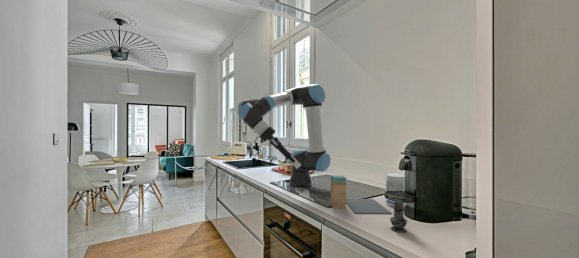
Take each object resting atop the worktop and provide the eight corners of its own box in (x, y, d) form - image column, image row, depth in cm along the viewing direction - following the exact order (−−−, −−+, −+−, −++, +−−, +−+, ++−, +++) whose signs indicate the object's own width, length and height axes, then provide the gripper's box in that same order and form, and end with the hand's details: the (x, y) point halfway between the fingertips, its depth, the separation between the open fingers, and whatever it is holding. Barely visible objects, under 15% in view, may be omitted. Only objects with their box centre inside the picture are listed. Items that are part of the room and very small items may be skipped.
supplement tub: (392, 201, 125) (392, 172, 125) (410, 205, 118) (411, 175, 118) (382, 204, 119) (382, 174, 119) (401, 209, 112) (401, 177, 112)
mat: (342, 199, 127) (342, 198, 127) (373, 199, 127) (373, 199, 127) (354, 213, 105) (354, 212, 105) (391, 213, 105) (391, 213, 105)
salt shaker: (392, 225, 92) (392, 193, 92) (409, 229, 88) (409, 196, 89) (387, 230, 88) (387, 196, 88) (405, 234, 84) (405, 199, 84)
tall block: (330, 204, 119) (330, 175, 119) (342, 204, 119) (342, 175, 119) (332, 207, 113) (333, 177, 113) (345, 208, 113) (346, 177, 113)
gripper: (260, 136, 122) (293, 170, 122) (257, 136, 109) (293, 174, 109) (271, 125, 122) (303, 159, 122) (269, 125, 109) (305, 162, 109)
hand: (298, 166), depth 115 cm, fingers closed
